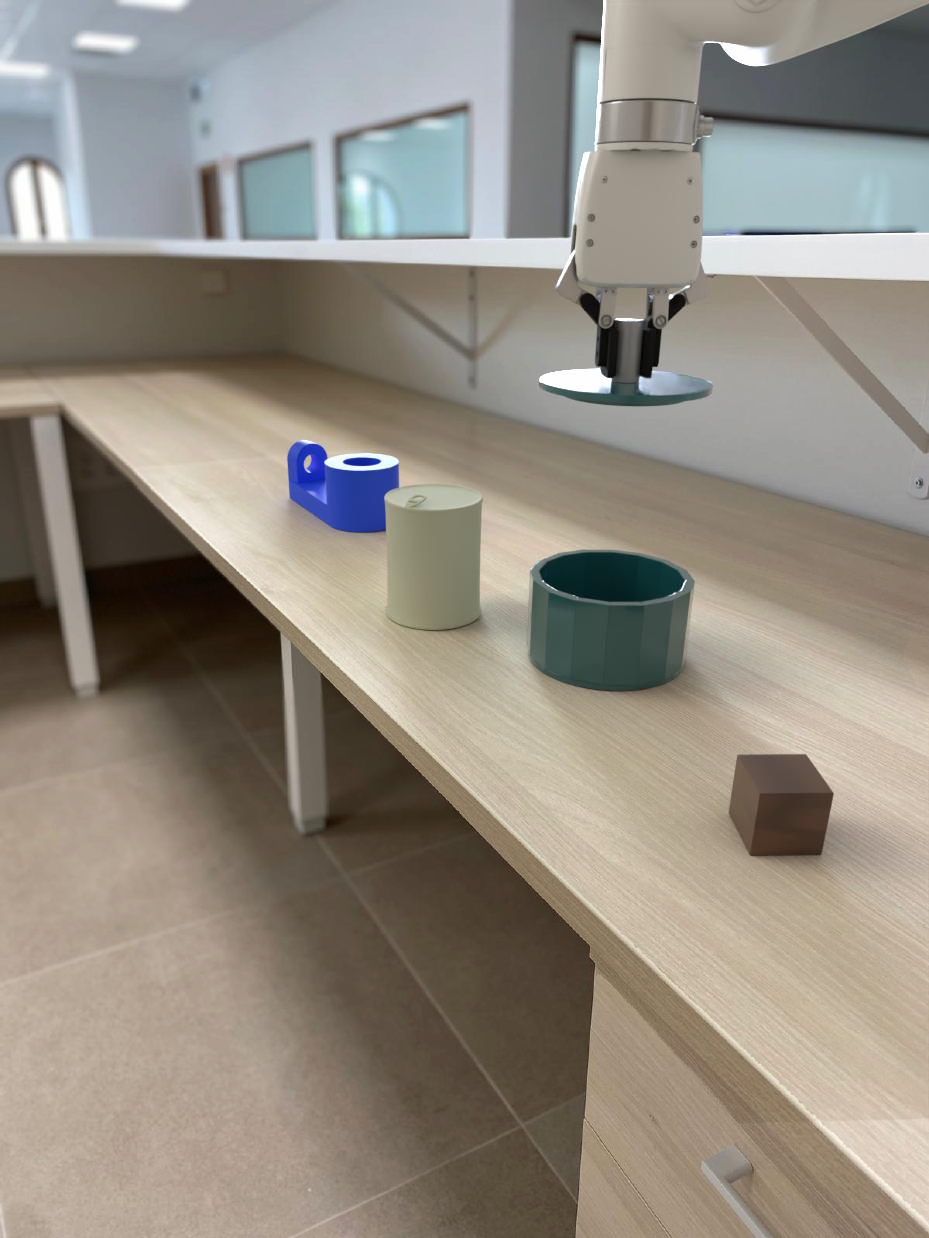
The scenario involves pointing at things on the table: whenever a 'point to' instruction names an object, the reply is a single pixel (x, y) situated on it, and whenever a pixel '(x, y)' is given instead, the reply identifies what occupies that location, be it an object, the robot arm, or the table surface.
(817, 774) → the block
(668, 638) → the bowl
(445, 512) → the can
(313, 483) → the bracket
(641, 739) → the table surface
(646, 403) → the lid
